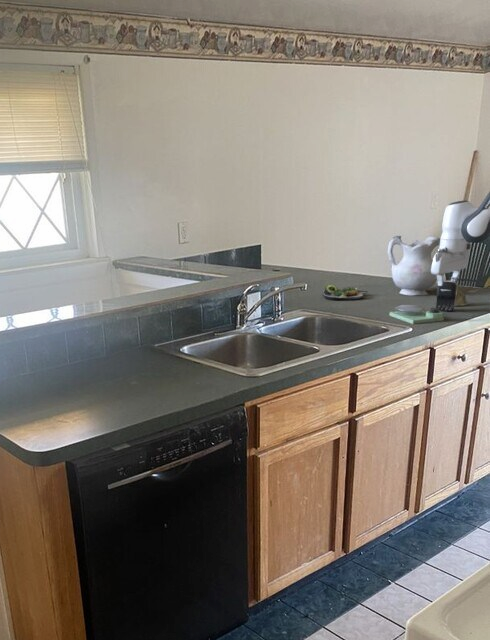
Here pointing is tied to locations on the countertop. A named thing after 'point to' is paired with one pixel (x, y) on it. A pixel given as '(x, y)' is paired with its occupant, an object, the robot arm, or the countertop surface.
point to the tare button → (434, 310)
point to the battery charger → (446, 296)
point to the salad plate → (342, 293)
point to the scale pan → (409, 308)
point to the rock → (459, 297)
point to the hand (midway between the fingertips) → (447, 283)
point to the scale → (418, 316)
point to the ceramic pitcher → (413, 265)
